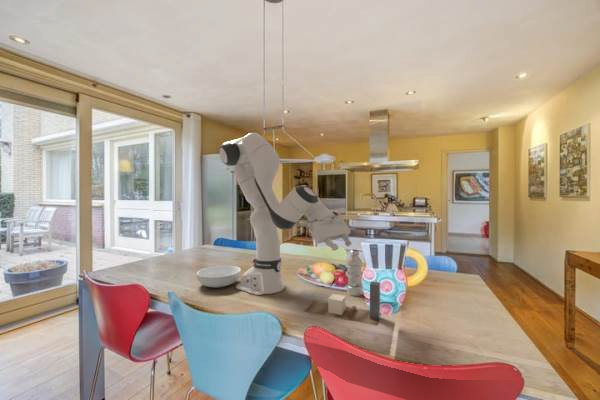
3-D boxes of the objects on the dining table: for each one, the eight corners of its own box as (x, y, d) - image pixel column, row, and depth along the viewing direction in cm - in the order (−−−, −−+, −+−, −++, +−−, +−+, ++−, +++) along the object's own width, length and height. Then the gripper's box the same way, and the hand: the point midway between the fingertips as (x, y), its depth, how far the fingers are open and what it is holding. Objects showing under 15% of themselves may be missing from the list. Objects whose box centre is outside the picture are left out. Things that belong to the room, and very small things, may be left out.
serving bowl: (246, 278, 138) (246, 265, 137) (232, 293, 117) (232, 277, 117) (208, 277, 140) (208, 264, 139) (188, 291, 119) (187, 276, 119)
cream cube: (328, 312, 94) (328, 298, 94) (332, 307, 99) (332, 293, 99) (341, 315, 92) (341, 300, 92) (345, 309, 97) (345, 296, 97)
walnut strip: (304, 314, 95) (304, 278, 95) (313, 303, 105) (313, 271, 104) (377, 329, 85) (377, 288, 85) (381, 316, 94) (381, 279, 94)
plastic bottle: (351, 300, 109) (351, 252, 108) (344, 294, 115) (344, 249, 115) (365, 298, 110) (365, 251, 110) (357, 292, 117) (357, 248, 117)
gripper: (309, 215, 92) (332, 246, 86) (340, 212, 108) (361, 238, 102) (299, 227, 95) (321, 257, 89) (331, 222, 111) (351, 248, 105)
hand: (343, 247), depth 96 cm, fingers open, 8 cm apart
